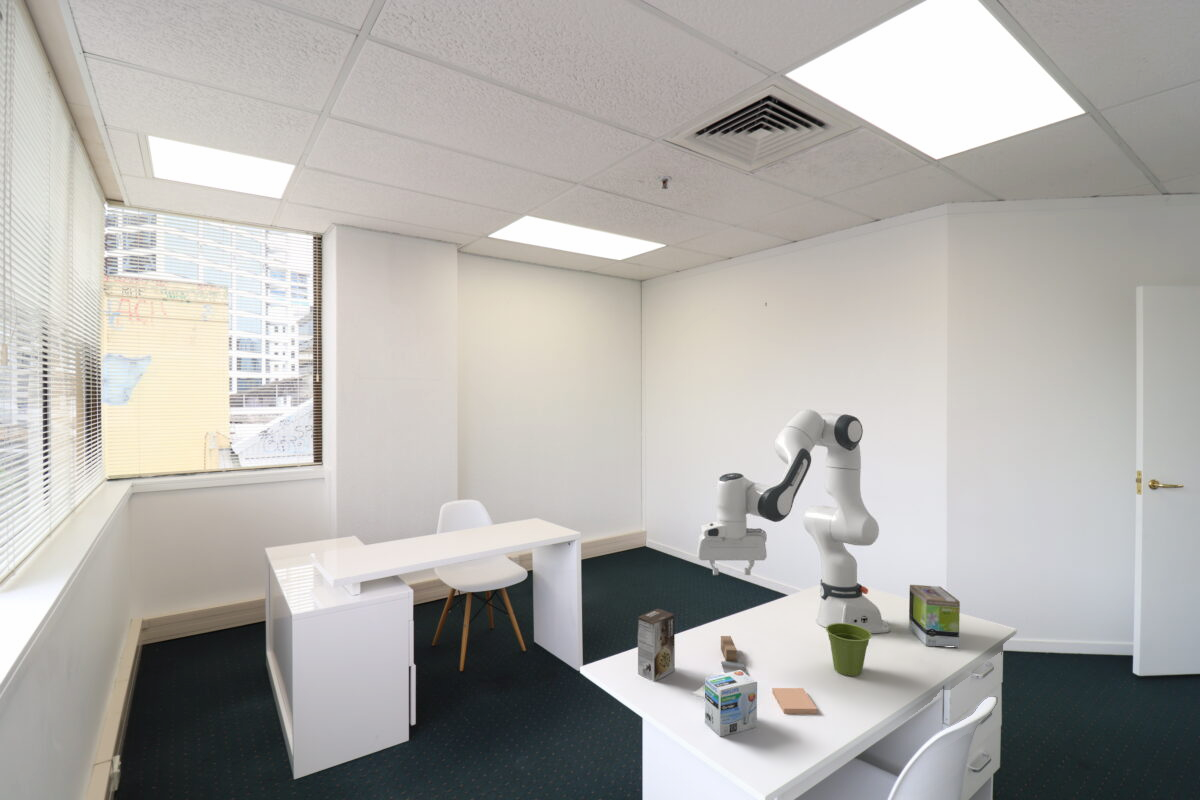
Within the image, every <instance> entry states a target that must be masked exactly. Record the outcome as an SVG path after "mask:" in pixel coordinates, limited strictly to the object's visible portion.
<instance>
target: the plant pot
mask: <svg viewBox="0 0 1200 800" xmlns="http://www.w3.org/2000/svg"><path fill="white" fill-rule="evenodd" d="M825 631H826V633H828V634H827V636H828V641H829V642H830V643H829V644H830V650H831V657H832V663H833V667H834V671H835V672H837V673H838V674H841V675H844V676H851V677H858V676H861V675H862V673H863V669H864V662H865V658H866V652H867V647H868V646H869V642H870V639H871V638H872V636H873V634H872V633H870V632H869V631H868V630H866V629H864V628H862V627H860V626H857V625H853V624H847V623H833V624H830V625H828V626H827V627H825Z"/></svg>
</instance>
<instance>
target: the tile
mask: <svg viewBox="0 0 1200 800" xmlns="http://www.w3.org/2000/svg"><path fill="white" fill-rule="evenodd" d="M771 690H772V691H771V692H772V695H773V696H774V699H775V701H776V703H777V704H778V706H779V708H780V710H781V711H782V712H783V714H784V715H793V714H794V715H817V714H818V708H817V707H816V705H815V704H814V702H813V701H812V699H811V698H810V696H809V695H808V693H807V692H806V690H805V688H803V687H772V689H771Z"/></svg>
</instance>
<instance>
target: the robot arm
mask: <svg viewBox="0 0 1200 800" xmlns="http://www.w3.org/2000/svg"><path fill="white" fill-rule="evenodd" d="M863 434H864V430H863V425H862V423H861V421H860V420H859V418H858V417H856V416H853V415H850V414H840V413H832V412H831V413H819V412H816V411H815V410H812V409H803V410H800V411H799V412H797V414H795V415H794V416H793V417H792V418H790V420H789V421H788V422H787V423H786V424H785V425H784V427H783V428H782V429H781V430H780V431H779V433H778V434H777V436H776V438H775V440H774V450H775V453H776V454H777V456H778V457H779V458H780V459H781V461H782V462H784V464H786V465H787V467H786V468H785V471H784V472H783V475H782V476H781V477H780V480H779V481H778V483H776V484H773V485H772V484H771V485H766V484H761V483H759V482H758V483H757V482H754V481H752V480H750V479H748V478H746V477H745V475H743V474H742V473H738V472H732V473H725V474H722V475H721V476H720V477H718V480H717V484H716V490H715V492H716V493H715V504H716V508H717V512H716V516H715V518H716V519H715V520H714V521H711V522H708V523H706V524H702V525H701V527H700V531H701V534H699V537H698V539H697V540H698V541H697V549H696V555H697V558H698V559H699V561H708V562H709V565H710V566H711V567H712V575H713V576H719V575H720V574H719V572H720V571H719V570H720V569H719V568H718V567H715V564H716V562H715V561H748V566H747V567H744V575H745V576H751V574H752V573H751V570H752V568H753V567H754V566H755V561H765V560H766V559H767V554H768V553H767V546H766V545H767V544H766V543H767V539H768V538H767V537H768V536H767V535H768V534H767V532H766V531H765V530H764V529H762V528H758V527H757V528H749V527H748V528H747V526H748V525H747V524H748V523H747V519H748V518H747V514H749V515H752V516H754V517H755V516H756V517H760V518H763V519H766V520H768V521H770V522H774V523H778V522H781V521H783V520H784V519H786V518H787V517H788V516H789V514H790V513H791V511H792V507H793V504H794V500H795V498H796V496H797V494H798V491H799V489H800V487H801V485H802V484H803V482H804V480H805V479H806V476H807V473H808V471H809V469H810V467H811V465H812V464H811V463H812V456H811V452H812V450H813V449H814V448H815V446H820V447H824V448H825V447H826V448H827V449H826V450H827V453H826V460H825V472H824V474H825V475H824V489H825V491H826V493H827V494H828V495H830V496H831V498H833V499H834V501H835V504H836V506H837V507H831V506H827V505H814V506H810V507H808V508H807V510H806V511H805V512H804V514H803V518H802V520H803V527H804V529H805V531H806V532H808V534H809V536H811V537H812V539H813V540H814V542H815V544H816V546H817V549H818V552H819V555H820V559H821V579H820V585H819V593H820V605H819V610H818V614H817V618H816V623H817V624H818V625H820V626H822V627H823V628H826V627H827V626H828V625H830V624H833V623H847V624H853V625H857V626H860V627H862V628H864V629H866V630H868V631H869V632H870V633H871V634H882V633H889V632H890V625H889V624H888V623H887V621H885V620H884V619H883V618H882V613H881V611H880V609H879V607H878V606H877V605H876V604H875V603H874V602H873V601H871V600H870V599H869V598H867V596H865V595H867V594H868V593H869V589H868V588H867V587H866V586H865V585H862V584H860V583H858V563H857V560H856V557H854V556H853V555H852V554H851V553H850V552H849V551H848V550H847V548H846V546H845V545H844V544H847V545H852V546H857V547H858V546H860V547H861V546H863V547H865V546H866V547H867V546H872V545H873V544H874V543H875V542H876V541H877V539H878V537H879V534H880V527H879V524H878V522H877V519H875V518H874V517H873V515H871V513H870V512H869V510H868V509H867V508H866V506H865V503H864V501H863V498H862V494H861V492H862V491H861V471H862V470H861V469H862V457H861V447H860V442H861V440H862V437H863Z"/></svg>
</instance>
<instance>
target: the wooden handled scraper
mask: <svg viewBox="0 0 1200 800" xmlns="http://www.w3.org/2000/svg"><path fill="white" fill-rule="evenodd" d="M720 651H721V653H722V655H723V659H724V658H725V659H724V660H723V661H722V660H721V661H720V663H721V664H722V665H721V667H722V669H723V673H729V672H733V671H737V670H742V671H743V672H744V673H745V674H747V675H748V671H747V670H746V667H745V665H744V663H743V661H738V650H737V647H736V645H735V643H734V640H733V638H732V636H731V635H720Z"/></svg>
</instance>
